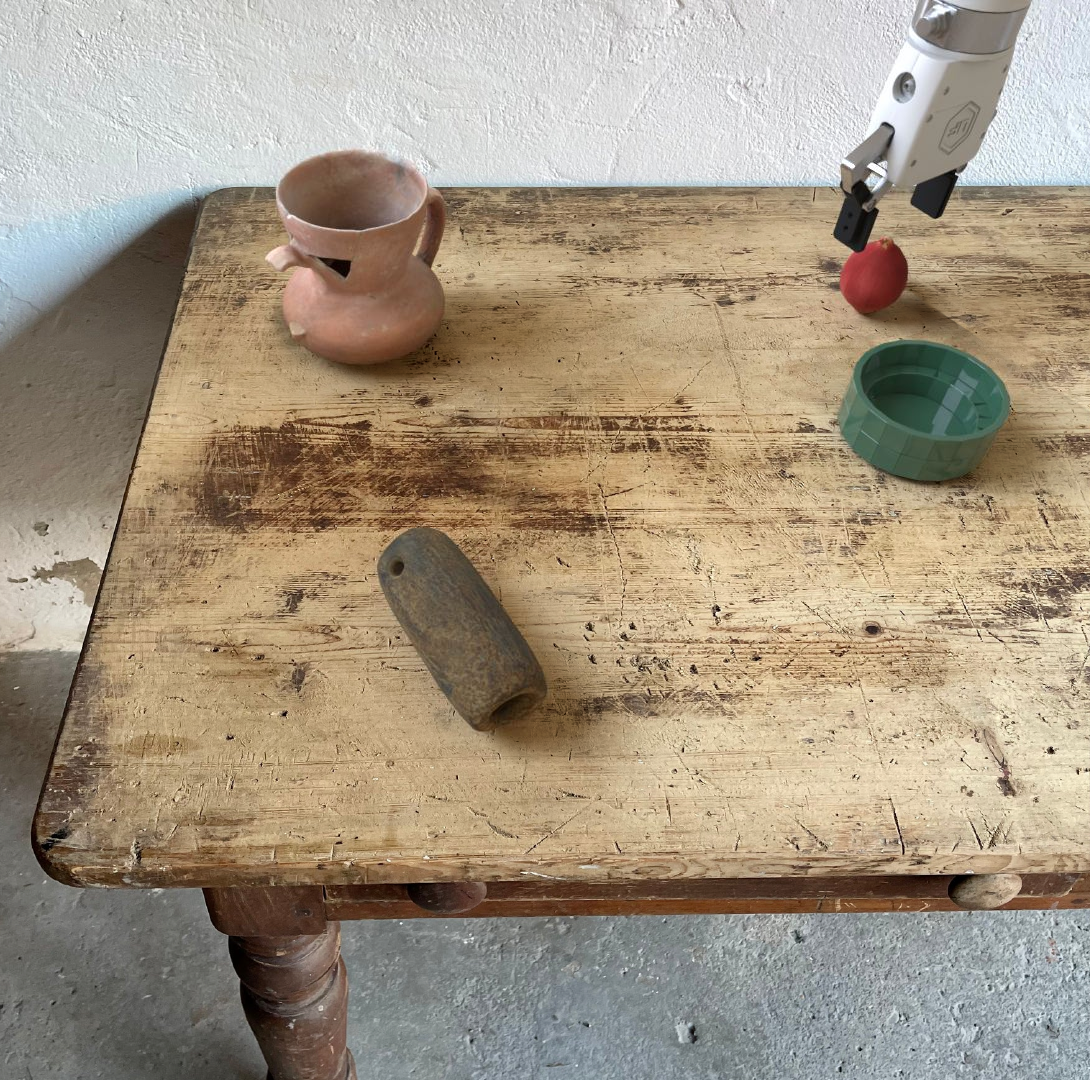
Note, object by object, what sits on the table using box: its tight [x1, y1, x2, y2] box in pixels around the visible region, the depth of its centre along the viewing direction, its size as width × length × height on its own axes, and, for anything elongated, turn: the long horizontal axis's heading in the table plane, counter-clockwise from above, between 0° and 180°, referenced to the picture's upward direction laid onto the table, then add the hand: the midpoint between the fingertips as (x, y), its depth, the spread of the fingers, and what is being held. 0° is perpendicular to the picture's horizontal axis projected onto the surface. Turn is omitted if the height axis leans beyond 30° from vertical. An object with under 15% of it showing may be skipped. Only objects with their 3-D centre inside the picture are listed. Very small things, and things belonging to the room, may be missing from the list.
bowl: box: [836, 339, 1011, 482], centre depth 82 cm, size 12×12×5 cm
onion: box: [839, 235, 909, 315], centre depth 91 cm, size 6×6×8 cm
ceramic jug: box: [264, 148, 447, 365], centre depth 86 cm, size 18×14×14 cm
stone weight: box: [376, 526, 548, 733], centre depth 67 cm, size 15×7×7 cm, turn 34°
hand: (886, 227), depth 87 cm, fingers open, 9 cm apart
